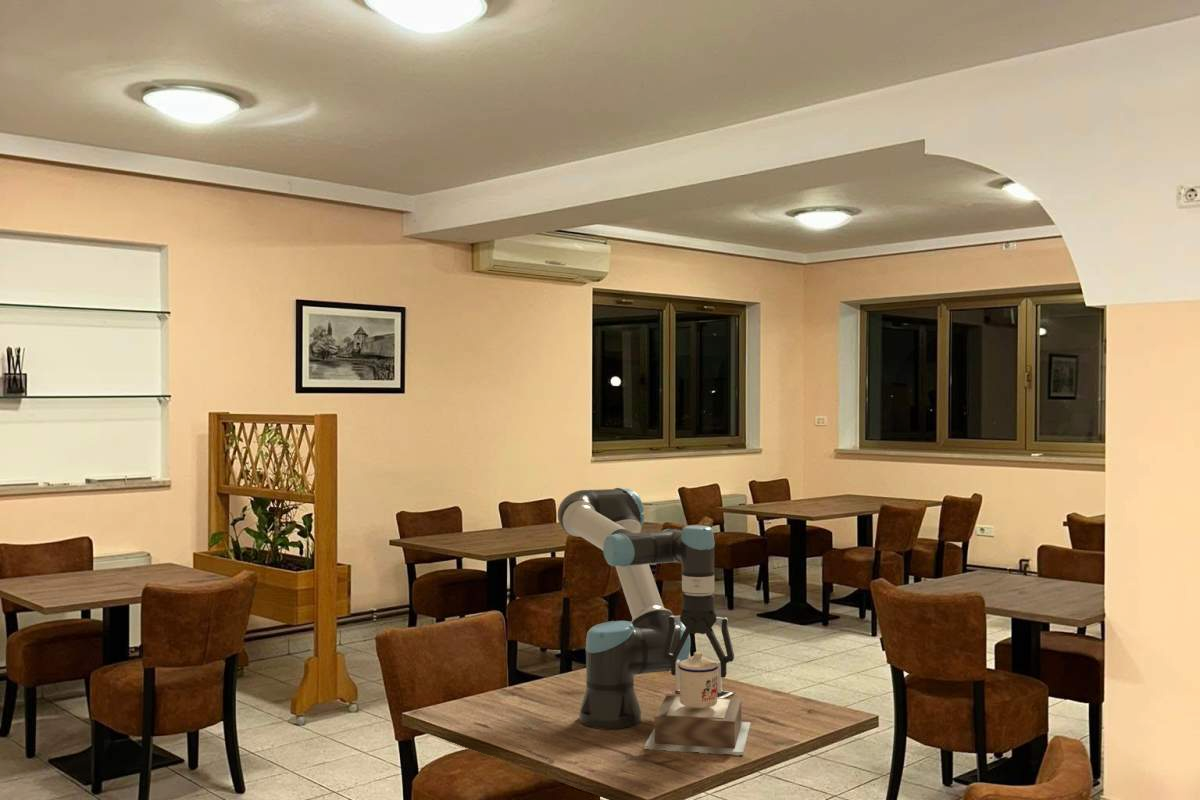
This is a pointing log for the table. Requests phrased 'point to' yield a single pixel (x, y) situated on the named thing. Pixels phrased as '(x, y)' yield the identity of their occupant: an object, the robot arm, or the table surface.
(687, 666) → the teacup with lid
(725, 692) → the cell phone
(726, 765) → the table surface
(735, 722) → the plinth
